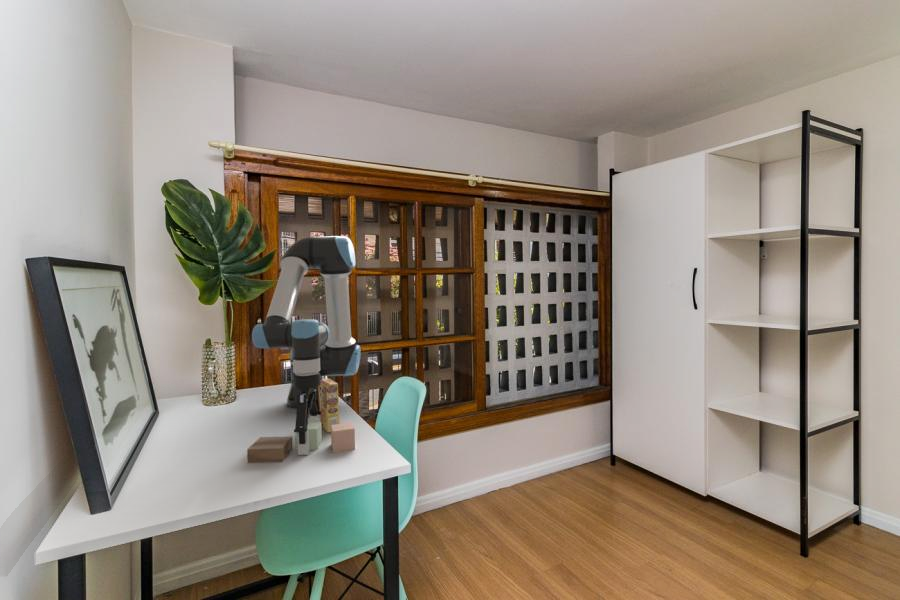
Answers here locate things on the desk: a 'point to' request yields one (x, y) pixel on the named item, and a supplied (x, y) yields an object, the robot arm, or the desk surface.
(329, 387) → the candy box
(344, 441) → the terracotta cube
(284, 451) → the walnut plinth
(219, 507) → the desk surface
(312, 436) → the green cube
